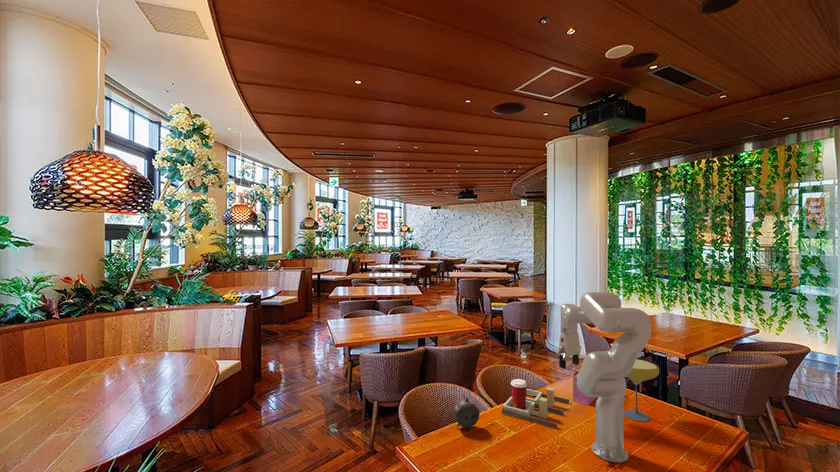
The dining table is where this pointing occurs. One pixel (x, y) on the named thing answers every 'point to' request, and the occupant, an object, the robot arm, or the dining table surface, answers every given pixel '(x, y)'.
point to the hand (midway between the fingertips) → (569, 366)
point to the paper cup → (519, 393)
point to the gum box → (577, 395)
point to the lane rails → (538, 420)
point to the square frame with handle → (539, 395)
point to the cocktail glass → (638, 374)
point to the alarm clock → (466, 413)
